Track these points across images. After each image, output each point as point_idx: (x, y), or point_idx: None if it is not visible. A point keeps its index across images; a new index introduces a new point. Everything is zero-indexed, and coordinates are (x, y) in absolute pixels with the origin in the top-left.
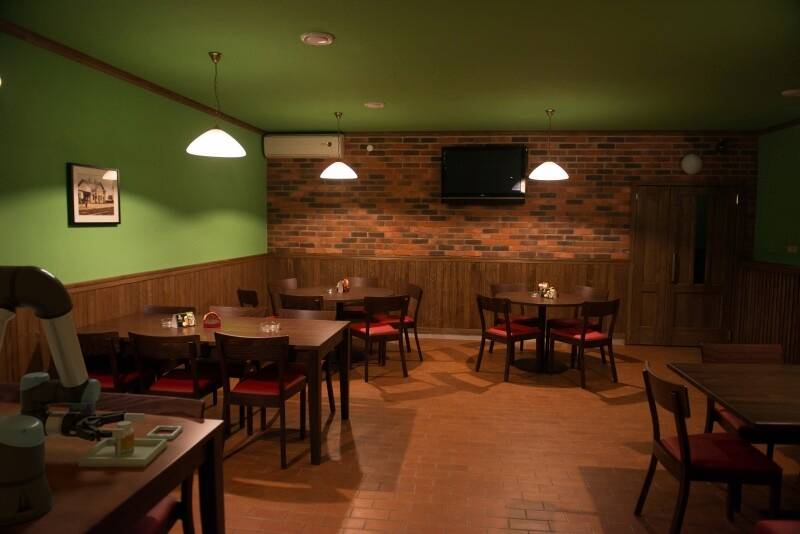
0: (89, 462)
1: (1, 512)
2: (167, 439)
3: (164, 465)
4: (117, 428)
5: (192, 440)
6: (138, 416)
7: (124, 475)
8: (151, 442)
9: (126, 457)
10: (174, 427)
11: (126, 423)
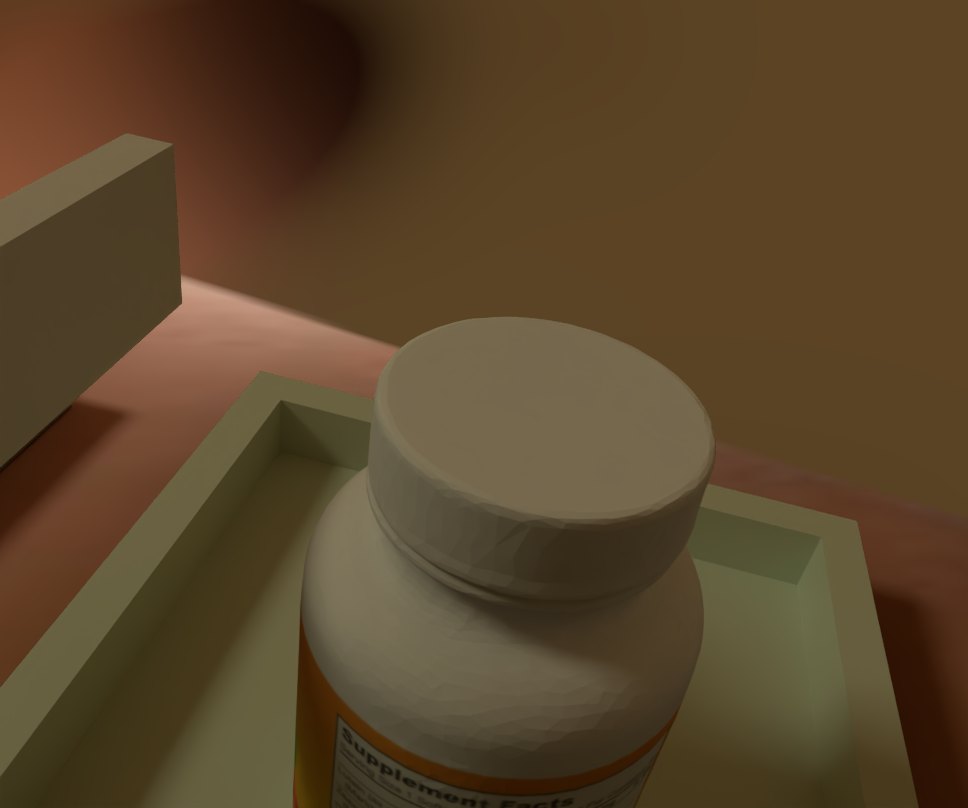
0: None
1: None
2: (35, 436)
3: (748, 462)
4: (618, 600)
5: (185, 303)
6: (111, 234)
7: None
8: (217, 516)
9: None
10: None
11: (581, 371)
